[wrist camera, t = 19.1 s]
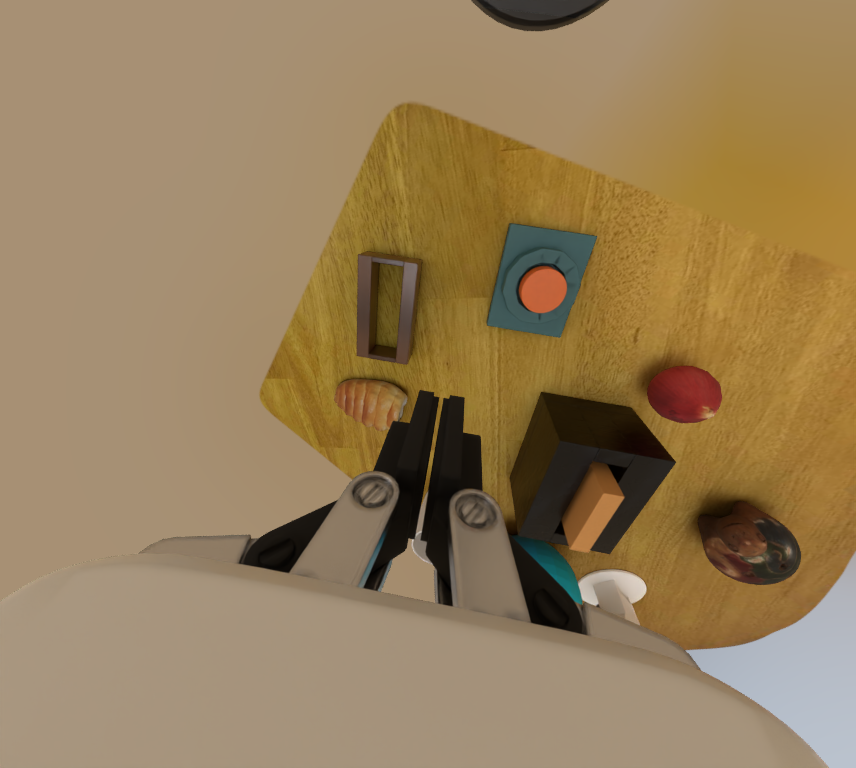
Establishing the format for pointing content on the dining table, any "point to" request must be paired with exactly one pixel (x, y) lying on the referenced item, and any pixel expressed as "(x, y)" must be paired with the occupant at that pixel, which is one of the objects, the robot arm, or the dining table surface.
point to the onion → (685, 394)
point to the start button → (542, 289)
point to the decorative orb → (552, 564)
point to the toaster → (583, 465)
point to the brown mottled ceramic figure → (750, 545)
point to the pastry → (371, 402)
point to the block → (526, 253)
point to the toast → (591, 507)
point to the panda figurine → (613, 591)
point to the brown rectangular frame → (368, 306)
